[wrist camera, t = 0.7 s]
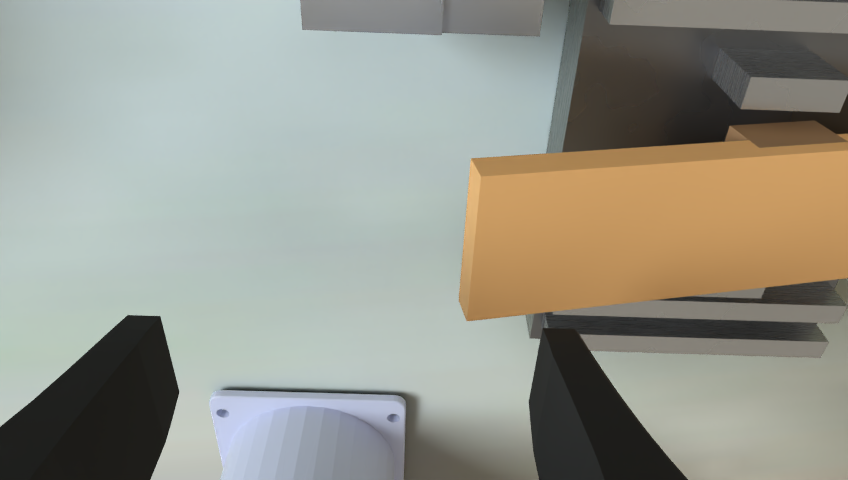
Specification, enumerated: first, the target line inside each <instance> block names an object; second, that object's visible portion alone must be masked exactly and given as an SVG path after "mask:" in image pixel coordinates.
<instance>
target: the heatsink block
mask: <svg viewBox="0 0 848 480" xmlns="http://www.w3.org/2000/svg"><path fill="white" fill-rule="evenodd" d="M813 120H815V121H816V122H818V123H820V124H821V125H823V126H824V127H826V128H827V129H829V130H831V131H832V132H834V133H835V134H848V0H571V1H570V8H569V14H568V20H567V27H566V33H565V39H564V46H563V52H562V58H561V64H560V71H559V77H558V83H557V90H556V96H555V102H554V109H553V115H552V121H551V128H550V134H549V140H548V146H547V153H562V152H577V151H593V150H608V149H623V148H638V147H653V146H668V145H683V144H699V143H714V142H725V139H726V136H727V133H728V130H729V126H732V125H748V124H764V123H781V122H797V121H813ZM547 153H546V154H547ZM838 280H839V279H836V280H827V281H818V282H809V283H800V284H791V285H783V286H774V287H765V288H756V289H747V290H738V291H730V292H721V293H712V294H703V295H694V296H685V297H677V298H668V299H659V300H650V301H641V302H633V303H624V304H615V305H606V306H597V307H588V308H580V309H571V310H562V311H553V312H544V313H535V314H527V315H526V320H527V325H528V331H529V336H530V338H538V339H541V334H542V329H543V328H559V329H575V330H576V331H577V332H578V333H579V334H580V336H581V337H582V339H583V341H584V342H585V344H586V345H587V347H588V349H589V350H590V351H615V352H648V353H681V354H714V355H747V356H780V357H813V358H821V356H822V354H823V352H824V350H825V348H826V346H827V345H828V343H829V342H828V340H827V339H826V337H825V336H824V335H823V333H822V332H821V330H820V329H819V327H818V326H817V325H816V324H817V323H839V322H840V320H841V318H842V316H843V314H844V312H845V310H846V308H847V305H846V304H845V303H844V301H843V300H842V299H841V298H840V296H839V295H838V294H837V292H836V291H835V290H834V288H835V286H836V284H837V282H838Z"/></svg>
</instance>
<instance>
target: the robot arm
mask: <svg viewBox="0 0 848 480" xmlns="http://www.w3.org/2000/svg"><path fill="white" fill-rule="evenodd" d="M178 395H179V389H178V385H177V381H176V377H175V373H174V369H173V365H172V361H171V357H170V353H169V349H168V345H167V341H166V337H165V333H164V329H163V325H162V321H161V317H160V316H134V315H128V316H126V317H125V318H124V319H123V320H122V321H121V322H120V323H118V324H117V325H116V326H115V327H114V328H113V329H112V330H111V331H110V332H108V333H107V334H106V335H105V336H104V337H103V338H102V339H101V340H100V341H99V342H98V343H96V344H95V345H94V346H93V347H92V348H91V349H90V350H89V351H88V352H87V353H86V354H84V355H83V356H82V357H81V358H80V359H79V360H78V361H77V362H76V363H75V364H73V365H72V366H71V367H70V368H69V369H68V370H67V371H66V372H65V373H63V374H62V375H61V376H60V377H59V378H58V379H57V380H55V381H54V382H53V383H52V384H51V385H50V386H49V387H48V388H46V389H45V390H44V391H43V392H42V393H41V394H40V395H38V396H37V397H36V398H35V399H34V400H33V401H31V402H30V403H29V404H28V405H27V406H25V407H24V408H23V409H22V410H20V411H19V412H18V413H17V414H15V415H14V416H13V417H12V418H11V419H9V420H8V421H7V422H6V423H4V424H3V425H2V426H1V427H0V480H150V479H151V476H152V474H153V471H154V469H155V467H156V464H157V462H158V459H159V457H160V454H161V452H162V450H163V447H164V445H165V442H166V439H167V435H168V432H169V428H170V425H171V421H172V418H173V414H174V410H175V406H176V402H177V399H178ZM209 405H210V410H211V415H212V419H213V424H214V428H215V433H216V438H217V442H218V447H219V451H220V456H221V461H222V465H223V472H222V475H221V479H220V480H404V452H405V420H406V402H405V400H404V399H403V398H402V397H400V396H397V395H375V394H341V393H306V392H272V391H237V390H218V391H215V392H213V394H212V395H211V398H210V400H209ZM223 409H225V410H223ZM529 409H530V421H531V432H532V441H533V451H534V457H535V461H536V466H537V471H538V476H539V480H688V479H687V478H686V477H685V476H684V475H683V474H682V472H681V471H680V470H679V469H678V468H677V467H676V466H675V464H674V463H673V462H672V461H671V460H670V459H669V457H668V456H667V455H666V454H665V453H664V451H663V450H662V449H661V448H660V447H659V445H658V444H657V443H656V442H655V441H654V439H653V438H652V437H651V436H650V434H649V433H648V432H647V431H646V429H645V428H644V427H643V426H642V424H641V423H640V422H639V420H638V419H637V418H636V416H635V415H634V414H633V412H632V411H631V410H630V408H629V407H628V406H627V404H626V403H625V401H624V400H623V399H622V397H621V396H620V395H619V393H618V392H617V390H616V389H615V388H614V386H613V385H612V383H611V382H610V380H609V379H608V377H607V376H606V375H605V373H604V372H603V370H602V369H601V367H600V366H599V364H598V363H597V361H596V360H595V358H594V356H593V355H592V353H591V352H590V350H589V349H588V347H587V345H586V344H585V342H584V341H583V339H582V337H581V336H580V334H579V333H578V332H577V331H576V330H575V329H559V328H543V329H542V334H541V339H540V345H539V350H538V355H537V361H536V366H535V372H534V377H533V382H532V388H531V393H530V399H529ZM391 414H396V415H391Z"/></svg>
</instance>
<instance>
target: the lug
mask: <svg viewBox="0 0 848 480" xmlns="http://www.w3.org/2000/svg"><path fill="white" fill-rule="evenodd" d="M300 1H301V16H302V30H322V31H348V32H374V33H401V34H427V35H442V33H462V34H488V35H514V36H540V29H541V22H542V15H543V7H544V0H300Z"/></svg>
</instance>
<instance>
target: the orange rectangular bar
mask: <svg viewBox="0 0 848 480" xmlns="http://www.w3.org/2000/svg"><path fill="white" fill-rule="evenodd" d="M844 278H848V134H835V133H834V132H832V131H831V130H829V129H827V128H826V127H824V126H823V125H821V124H820V123H818V122H816V121H815V120H813V121H797V122H781V123H764V124H748V125H732V126H729V130H728V133H727V136H726V139H725V142H714V143H699V144H683V145H668V146H653V147H638V148H623V149H608V150H593V151H577V152H562V153H547V154H532V155H517V156H502V157H487V158H472V159H471V164H470V176H469V187H468V199H467V210H466V222H465V233H464V245H463V257H462V268H461V280H460V291H459V302H460V305H461V307H462V310H463V313H464V315H465V318H466V320H467V321H474V320H482V319H491V318H500V317H509V316H518V315H527V314H535V313H544V312H553V311H562V310H571V309H580V308H588V307H597V306H606V305H615V304H624V303H633V302H641V301H650V300H659V299H668V298H677V297H685V296H694V295H703V294H712V293H721V292H730V291H738V290H747V289H756V288H765V287H774V286H783V285H791V284H800V283H809V282H818V281H827V280H836V279H844Z"/></svg>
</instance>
